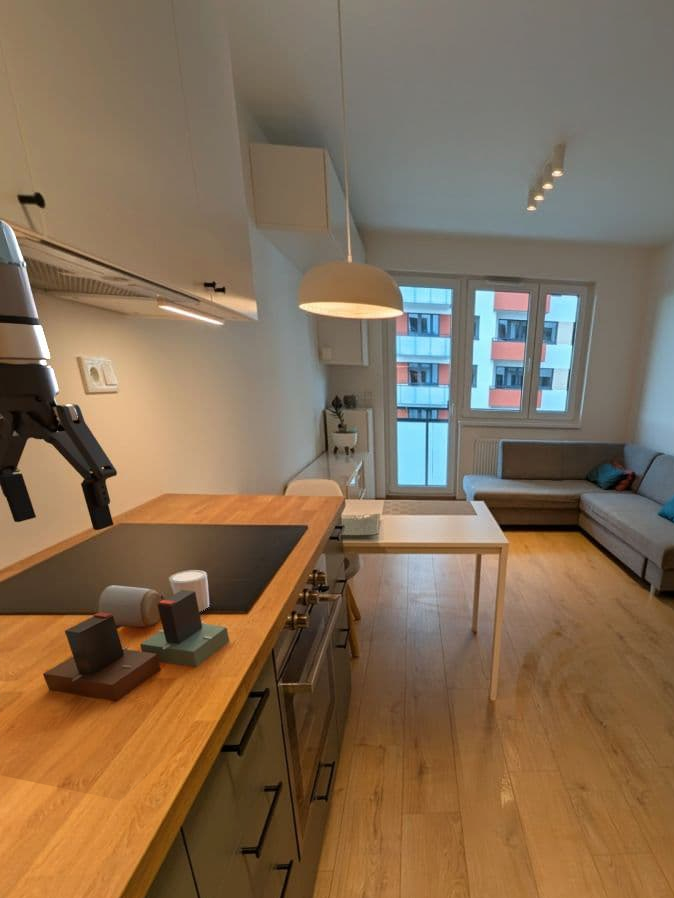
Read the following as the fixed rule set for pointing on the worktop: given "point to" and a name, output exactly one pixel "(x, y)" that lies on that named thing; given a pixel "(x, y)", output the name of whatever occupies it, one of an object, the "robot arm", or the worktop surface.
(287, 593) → the worktop surface
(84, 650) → the red-tabbed dark slab
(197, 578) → the white cylinder
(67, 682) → the dark brown base plate
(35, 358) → the robot arm
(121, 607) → the grey lying cylinder
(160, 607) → the dark upright block
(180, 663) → the green square base
